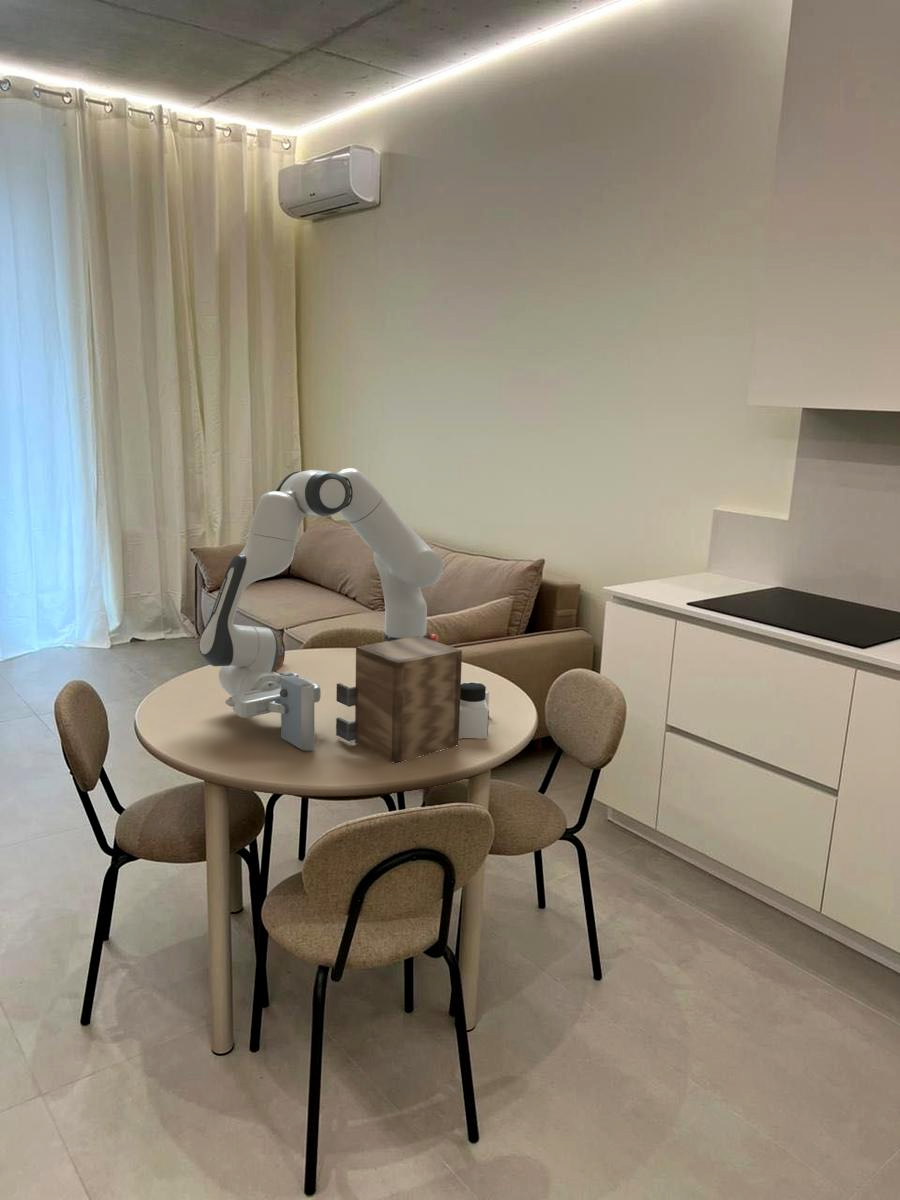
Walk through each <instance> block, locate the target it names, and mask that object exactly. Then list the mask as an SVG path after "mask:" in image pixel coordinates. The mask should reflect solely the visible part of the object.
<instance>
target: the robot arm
mask: <svg viewBox="0 0 900 1200" xmlns="http://www.w3.org/2000/svg"><path fill="white" fill-rule="evenodd" d="M337 513H340V514H341V515H342V516H343V517H344V519H345V520H346V521H347V523H348V524H349V525H350V527H351V528H352V529H353V530H354V531H355V532H356V534H357V535H358V536H359V538H360V539H361V540H362V541H363V543H364V544H365V545H366V546H367V547H369V548H370V549H371V550H373V557H372V559H373V563H374V565H375V567H376V569H377V571H378V574H379V579H380V580H379V581H380V584H381V589H382V593H383V599H384V616H385V617H384V632H383V635H382V638H383V639H382V642H387V641H392V640H398V639H403V638H409V637H415V636H421V637H424V638H427V639H430V640H433V641H436V642H438V641H439V639H440V638H439V635H438V634H434V633H431V634H430V633H428V632H427V627H428V626H427V625H428V624H427V621H428V619H427V617H428V606H427V602H426V600H425V599H424V596H423V592H422V590H421V588H427V587H431V586H433V585H435V584H436V583H438V581H439V580H440V579H441V577H442V574H443V571H444V564H443V563H444V562H443V560H442V558H441V556H440V555H439V554H438V552H436V551H435V550H434V549H433V548H432V547H430V546H429V545H428V544H427V543H426V542H425V541H424V539H422V537H420V536H419V534H418V533H417V532H416V531H414V529H413V528H412V527H410V526H409V524H407V523H406V522H405V521H404V520H403V519H402V518H401V517H400V516H399V515H398V513H397V512H396V510H395V509H394V508H393V507H392V505H391V504H390V503H389V502H388V501H387V499H386V497H384V496H383V494H382V493H381V492H380V490H379V489H378V488H377V487H376V486H375V485H374V483H373V482H371V480H370V479H369V478H368V477H367V476H365V474H363V473H362V472H361V471H360V470H358V469H357V468H354V467H348V468H343V469H341V470H339V471H338V472H333V471H330V470H320V469H308V470H304V471H300V470H299V471H294V472H291V473H289V474H288V475H287V476H285V477H284V478H283V479H282V480H281V482H280V484H279V485H278V487H277V488H276V489H275V490H274V491H267V492H265V493H264V494H262V495H261V497H260V498H259V499H258V503H257V505H256V507H255V510H254V513H253V517H252V521H251V524H250V528H249V535H248V537H247V542H246V544H245V546H244V547H243V549H242V550H241V552H240V553H238V554H236V555H234V556H233V557H232V559H231V561H230V562H229V564H228V566H227V569H226V571H225V573H224V576H223V579H222V582H221V585H220V588H219V591H218V593H217V596H216V599H215V602H214V605H213V607H212V611H211V613H210V615H209V618H208V620H207V623H206V625H205V627H204V629H203V631H202V633H201V636H200V639H199V642H198V644H199V645H198V648H199V652H200V655H201V656H202V657H203V659H204V660H205V661H206V662H207V663H208V664H209V665H211V667H220V669H219V672H218V681H219V683H220V685H221V688H222V689H223V690H224V691H225V692H226V693H227V694H228V695H229V696H230V697H228V699H225V701H224V703H225V704H226V705H227V706H228V707H232V711H233V712H234V713H235V714H236V715H237V716H238V717H240V718H242V719H243V718H245V719H248V718H252V717H258V716H262V715H266V714H270V713H278V714H280V715H281V714H286V713H289V710H288V709H289V706H288V705H286V704H281V696H280V691H281V677H285V676H290V675H294V676H296V677H298V678H300V679H302V680H304V681H306V682H308V683H310V684H313V685H314V704H315V703H319V702H320V701H321V692H322V691H321V686H320V685H319V684H317V683H316V682H314V681H312V680H310V679H307V678H305V677H299V673H297V672H275V673H274V672H273V670H274V668H275V666H276V664H277V661H278V658H279V653H280V646H279V642H278V640H277V638H278V637H277V636H276V634H275V632H274V631H273V630H272V629H270V628H269V627H263V626H262V627H261V626H254V625H244V624H243V625H242V624H235V623H234V619H235V616H236V613H237V610H238V607H239V605H240V602H241V600H242V595H243V593H244V591H245V590H246V588H247V587H248V586H249V585H251V584H252V583H255V582H256V581H260V580H263V579H267V578H270V577H275V576H277V575H279V574H282V572H284V571H285V570H286V569H288V568H289V567H290V566H291V563H292V561H293V559H294V555H295V553H296V545H297V541H298V540H297V538H298V532H299V528H300V526H301V523H302V521H303V520H304V518H305V517H319V516H321V517H327V516H332V515H335V514H337Z"/></svg>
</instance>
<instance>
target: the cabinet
mask: <svg viewBox="0 0 900 1200" xmlns="http://www.w3.org/2000/svg"><path fill="white" fill-rule="evenodd" d="M462 655H463V650H462V649H459V648H456V647H453V646H450V645H448V644H444V643H442V642H439V641H437V642H436V641H433V640H430V639H427V638H424V637H421V636H415V637H409V638H403V639H398V640H392V641H387V642H383V641H382V642H376V643H370V644H364V645H359V646H356V647H355V686H351V687H349V686H347V685H344V684H343V683H341V682H339V683H336V699H335V700H336V702H338V703H339V704H342V705H344V706H346V707H353V706H355V707H354V709H355V711H354V718H355V719H354V721H348V720H346V719H343V718H341V717H340V716H339V717H336V718H335V719H336V721H335V723H336V724H335V725H336V726H335V730H336V731H335V734H336V736H337V737H340V738H341V739H343V740H345V741H346V742H352V741H354V743H356V744H357V745H359V746H361V747H362V748H364V749H367V750H369V751H370V752H373V753H374V754H376V755H378V756H380V757H382V758H384V759H386V760H387V759H388V762H389V761H390V762H392V763H393V762H394V763H393V764H396V763H397V764H400V763H403V762H402V761H404V762H406V761H405V760H407V761H410V760H409V759H411V760H413V759H412V758H414V759H417V758H416V757H418V758H420V757H419V756H421V757H424V756H427V755H426V754H428V755H430V754H429V753H431V754H434V753H433V752H435V753H437V752H436V751H438V752H441V751H440V750H442V751H444V750H443V749H445V750H448V749H447V748H449V749H451V748H450V747H452V748H454V747H453V746H456V745H458V746H459V744H460V743H459V740H460V739H459V717H460V690H461V684H462V661H463V660H462V658H463V656H462ZM456 747H457V746H456ZM423 755H424V756H423ZM399 762H400V763H399Z"/></svg>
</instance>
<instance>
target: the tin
mask: <svg viewBox="0 0 900 1200" xmlns="http://www.w3.org/2000/svg"><path fill="white" fill-rule="evenodd" d="M277 640H278V642H279V646H280V653H279V658H278V661H277V664H276V666H275V668H274V670H273V672H275V673H277V671H278V670H279V669H280V668H281V667H282V666H283V664H284V662H285V655H286V653H285V652H286V649H285V647H286V646H285V643H284V639H283V638H282V637H277ZM276 670H277V671H276Z"/></svg>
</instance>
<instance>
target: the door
mask: <svg viewBox="0 0 900 1200" xmlns="http://www.w3.org/2000/svg"><path fill="white" fill-rule="evenodd" d="M300 678H301V677H299V678H298V677H296V676H294V675H290V676H285V677H281V691H280V696H281V704H286V705H288V706H289V709H288V710H289V713H286V714H281V713H280V729H281V730H280V732H281V733H280V734H281V735H280V736H281V737H280V738H281V739H283V740H285V741H286V742H288V743H290V744H291V745H293V746H295V747H296V748H298V749H300V750H302V751H305V752H307V751H308V752H309V751H312V750H314V749H315V703H314V685H313V684H310V683H308V682H306V681H304V680H302V679H300Z"/></svg>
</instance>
